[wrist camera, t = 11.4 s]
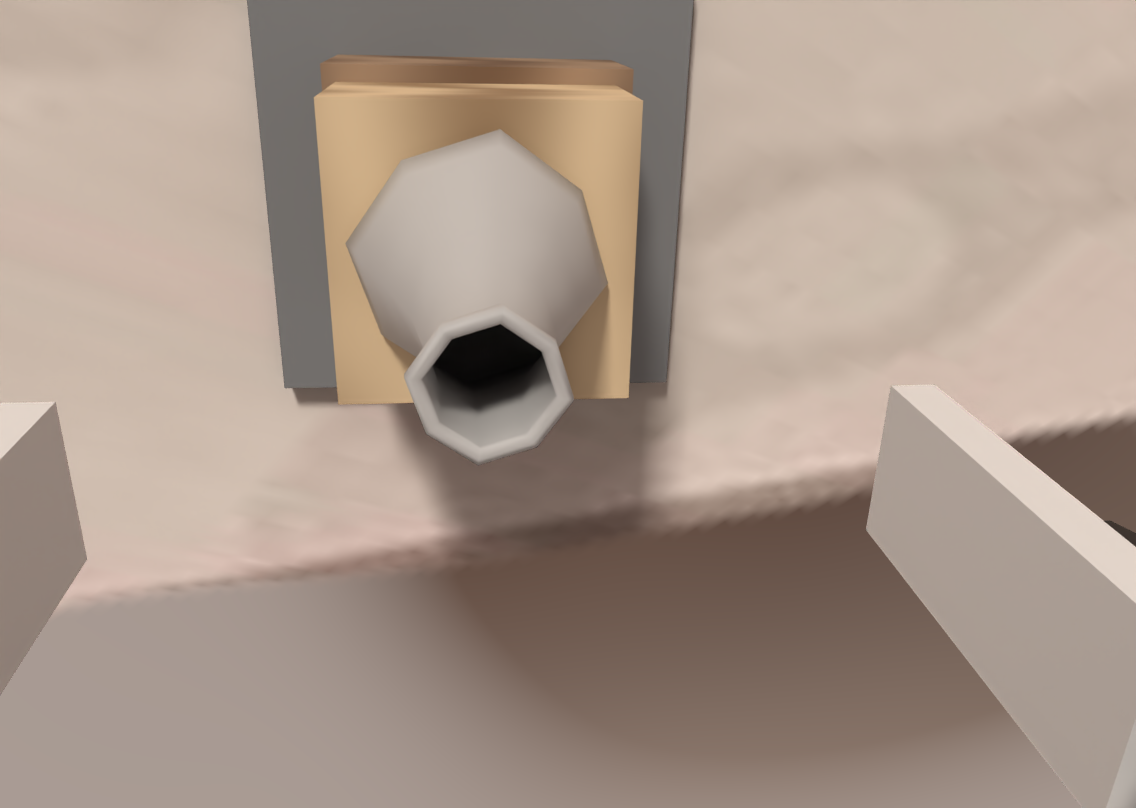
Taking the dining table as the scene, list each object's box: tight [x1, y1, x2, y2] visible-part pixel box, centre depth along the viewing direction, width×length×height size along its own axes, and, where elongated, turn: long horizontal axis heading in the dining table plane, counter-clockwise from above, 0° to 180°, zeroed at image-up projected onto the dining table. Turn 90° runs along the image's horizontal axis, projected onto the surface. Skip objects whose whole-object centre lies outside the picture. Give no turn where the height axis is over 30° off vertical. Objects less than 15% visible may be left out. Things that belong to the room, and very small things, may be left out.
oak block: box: [314, 82, 643, 404], centre depth 30 cm, size 9×9×5 cm
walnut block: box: [320, 55, 634, 94], centre depth 35 cm, size 10×10×5 cm
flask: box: [345, 129, 608, 465], centre depth 23 cm, size 7×7×10 cm
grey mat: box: [247, 0, 693, 388], centre depth 38 cm, size 16×16×1 cm
